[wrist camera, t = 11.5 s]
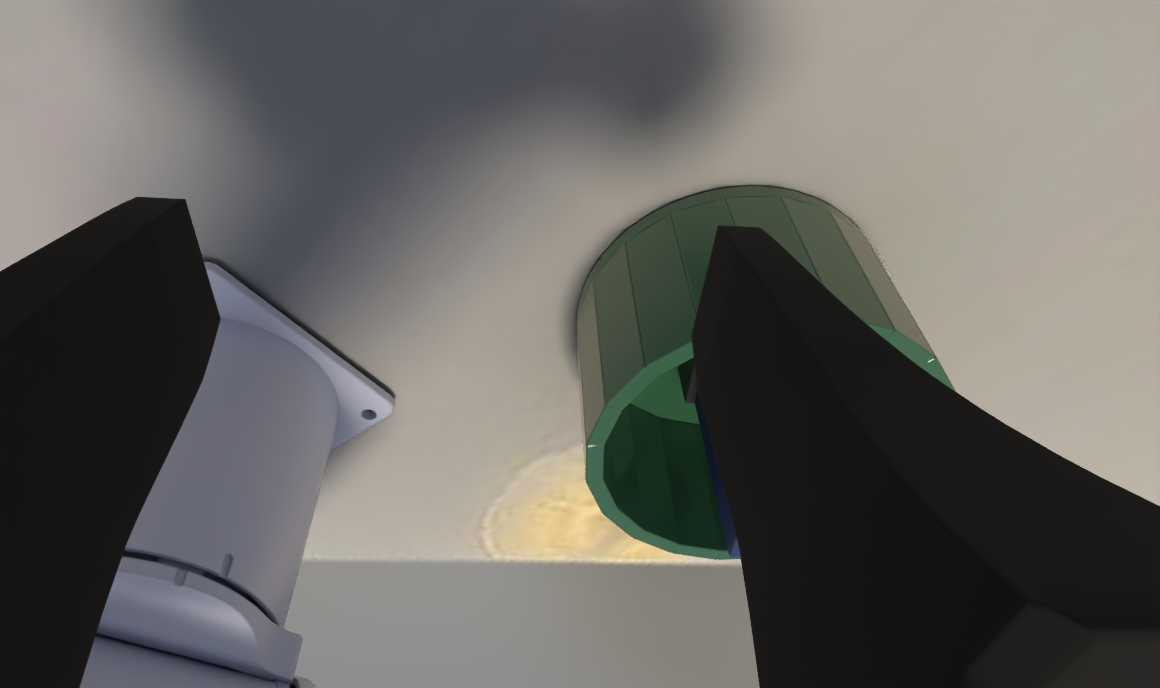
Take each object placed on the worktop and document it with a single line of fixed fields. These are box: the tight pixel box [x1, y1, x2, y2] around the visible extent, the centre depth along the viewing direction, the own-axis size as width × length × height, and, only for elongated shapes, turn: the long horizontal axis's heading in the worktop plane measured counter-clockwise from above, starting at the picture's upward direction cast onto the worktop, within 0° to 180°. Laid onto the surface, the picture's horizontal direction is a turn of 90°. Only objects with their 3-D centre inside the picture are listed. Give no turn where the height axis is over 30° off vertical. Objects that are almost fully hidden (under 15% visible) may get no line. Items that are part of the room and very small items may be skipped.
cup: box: [576, 186, 955, 560], centre depth 23 cm, size 10×10×6 cm
